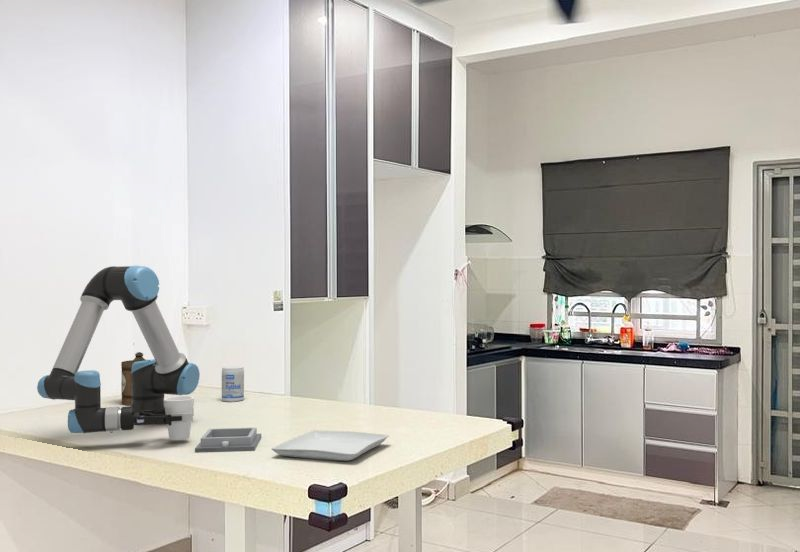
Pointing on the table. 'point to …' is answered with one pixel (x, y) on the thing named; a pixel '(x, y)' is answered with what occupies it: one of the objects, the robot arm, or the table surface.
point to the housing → (229, 440)
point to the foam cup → (175, 407)
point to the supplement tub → (232, 383)
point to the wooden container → (128, 378)
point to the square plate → (330, 445)
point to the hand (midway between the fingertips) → (193, 414)
